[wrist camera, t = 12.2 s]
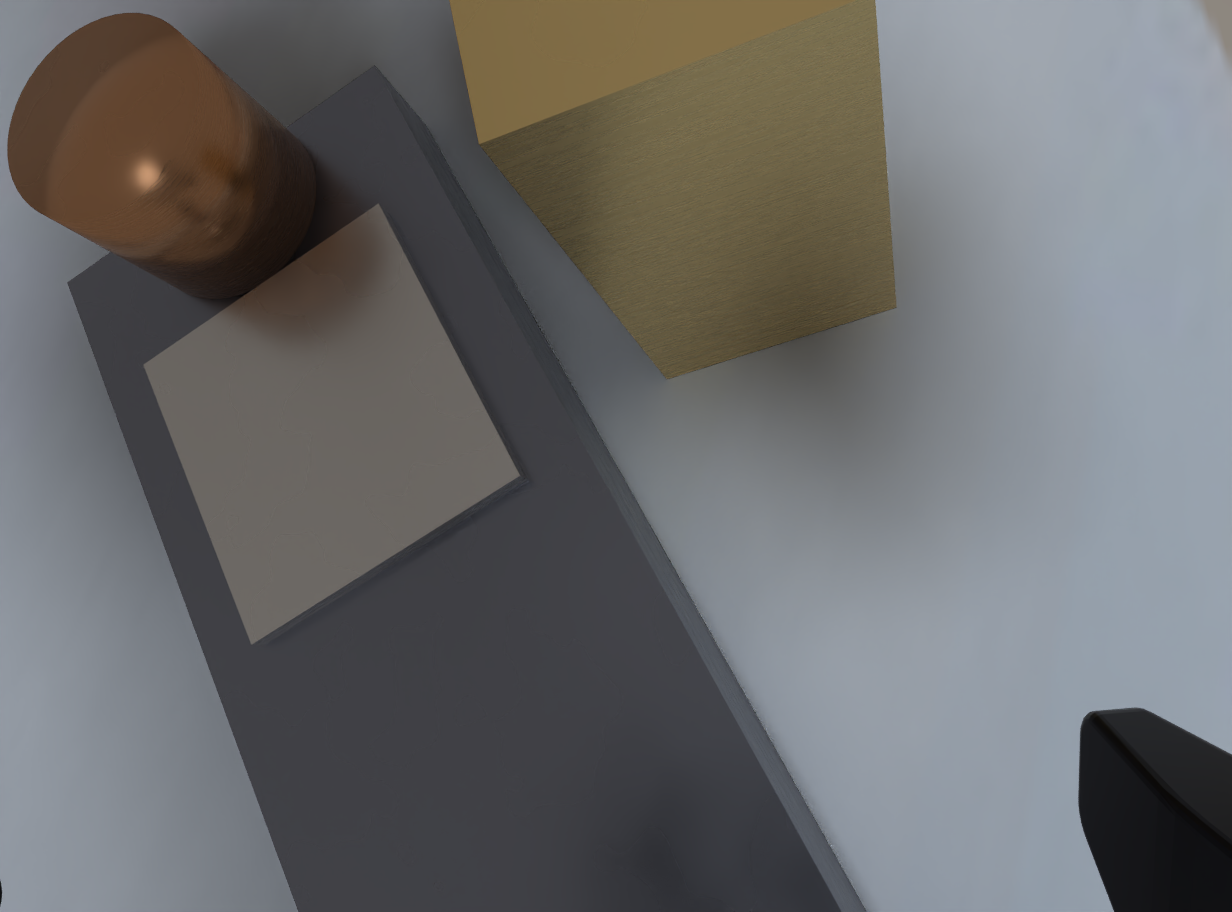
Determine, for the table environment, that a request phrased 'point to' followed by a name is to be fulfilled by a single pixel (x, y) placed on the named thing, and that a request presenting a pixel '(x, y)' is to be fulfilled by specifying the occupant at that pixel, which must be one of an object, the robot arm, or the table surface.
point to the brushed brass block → (695, 159)
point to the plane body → (396, 512)
